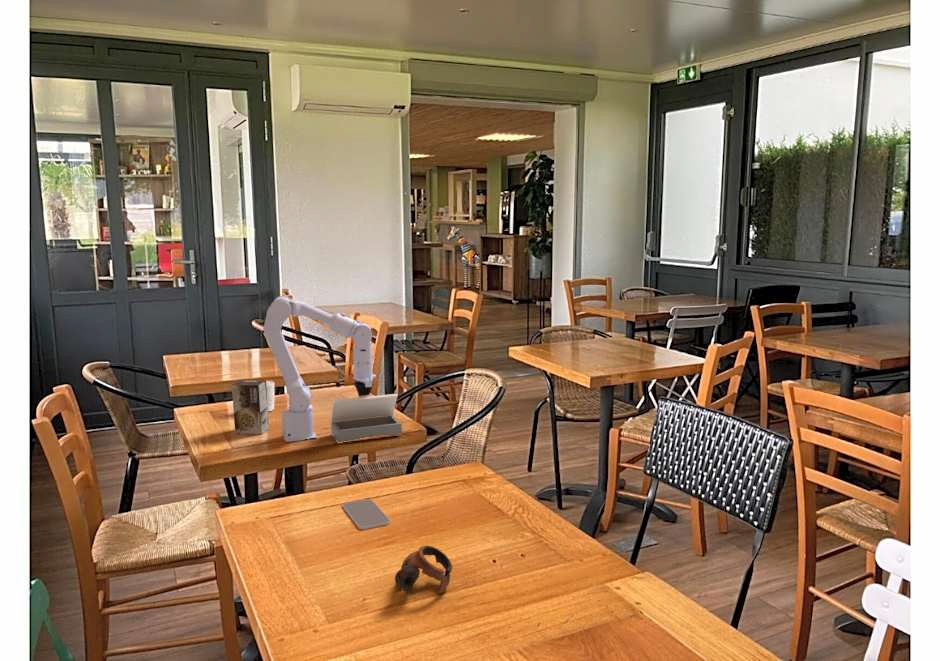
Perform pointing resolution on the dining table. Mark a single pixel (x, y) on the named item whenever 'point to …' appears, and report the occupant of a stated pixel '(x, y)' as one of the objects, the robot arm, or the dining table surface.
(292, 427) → the robot arm
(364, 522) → the smartphone
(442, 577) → the brown looped part
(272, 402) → the white cup
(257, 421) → the coffee box
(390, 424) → the cable duct
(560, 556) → the dining table surface
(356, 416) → the duct lid
